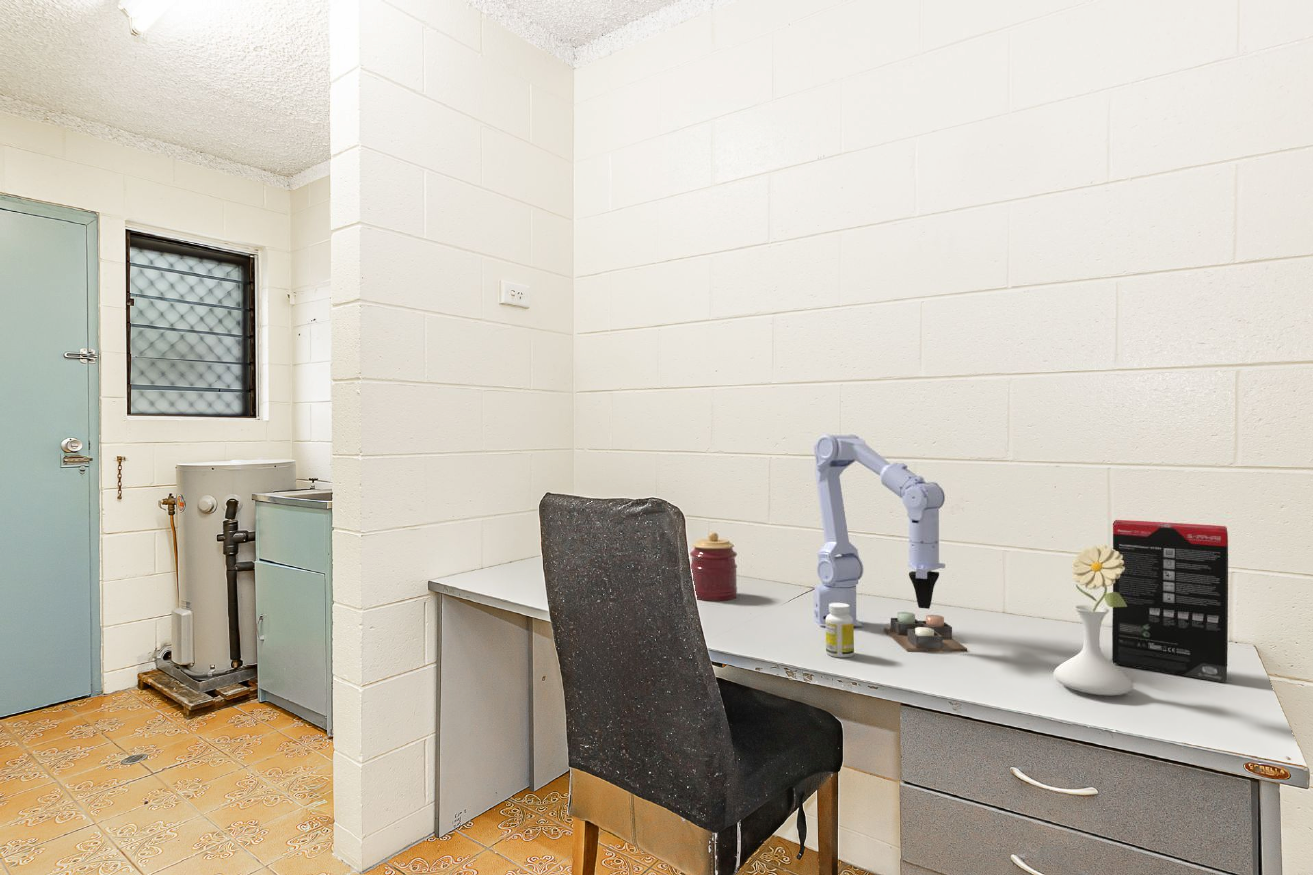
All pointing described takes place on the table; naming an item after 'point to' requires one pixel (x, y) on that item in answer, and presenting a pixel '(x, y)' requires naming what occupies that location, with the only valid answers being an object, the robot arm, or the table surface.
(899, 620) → the sage button
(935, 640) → the button panel
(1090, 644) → the flower in vase
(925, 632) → the cream button
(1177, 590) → the graphics card box
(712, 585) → the canister
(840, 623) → the supplement bottle
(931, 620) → the terracotta button
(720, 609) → the table surface
